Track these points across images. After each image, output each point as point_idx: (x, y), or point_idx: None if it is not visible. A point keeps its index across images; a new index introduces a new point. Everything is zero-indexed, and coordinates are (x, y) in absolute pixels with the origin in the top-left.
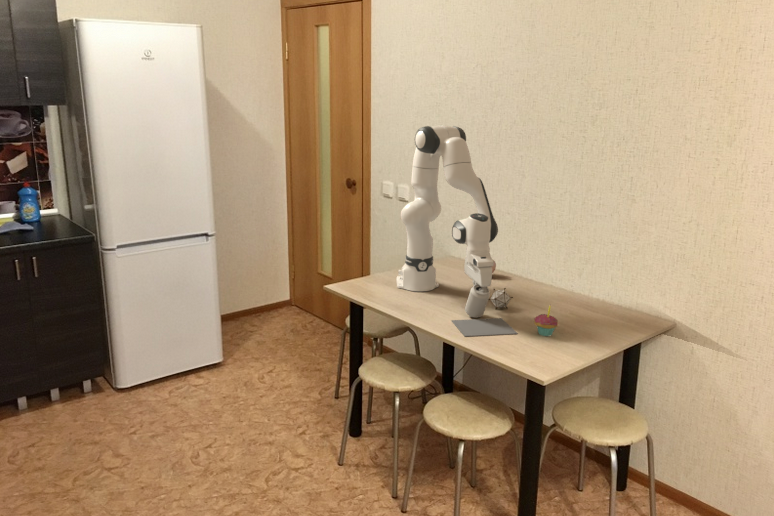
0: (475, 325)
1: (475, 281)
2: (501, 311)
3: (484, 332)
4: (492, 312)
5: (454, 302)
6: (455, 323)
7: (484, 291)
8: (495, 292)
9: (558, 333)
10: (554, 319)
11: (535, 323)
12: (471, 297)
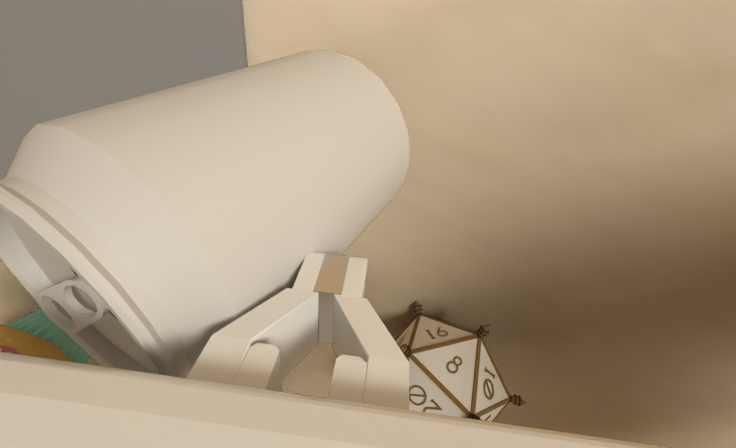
0: (101, 27)
1: (68, 375)
2: (380, 311)
3: None
4: (377, 266)
5: (714, 115)
6: None
7: (44, 305)
8: (451, 402)
9: (88, 361)
10: None
11: None
12: (112, 104)
